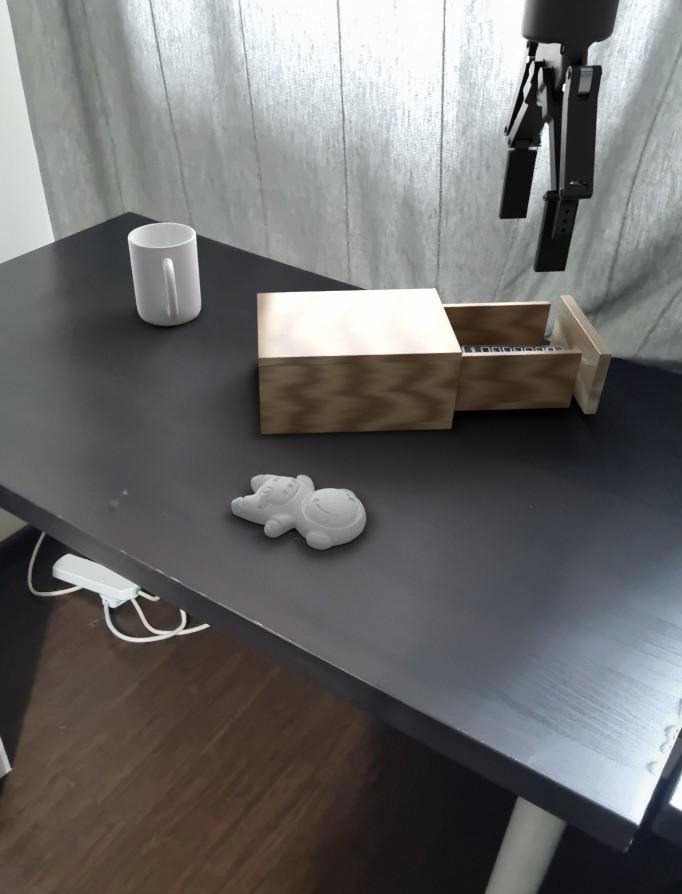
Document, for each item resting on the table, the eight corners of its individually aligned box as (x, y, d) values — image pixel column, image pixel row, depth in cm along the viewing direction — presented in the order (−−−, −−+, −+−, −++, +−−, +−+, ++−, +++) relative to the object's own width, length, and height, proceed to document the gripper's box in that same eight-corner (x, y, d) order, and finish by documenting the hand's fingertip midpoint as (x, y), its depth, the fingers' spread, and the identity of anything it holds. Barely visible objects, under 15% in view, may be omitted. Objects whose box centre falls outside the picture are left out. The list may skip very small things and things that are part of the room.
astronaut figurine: (268, 471, 81) (267, 445, 79) (380, 509, 76) (382, 482, 74) (219, 521, 75) (217, 495, 73) (337, 565, 70) (338, 538, 68)
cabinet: (427, 359, 97) (435, 288, 91) (451, 429, 86) (462, 352, 80) (259, 364, 97) (256, 292, 91) (260, 434, 86) (258, 357, 80)
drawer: (568, 351, 96) (581, 294, 92) (607, 413, 86) (624, 353, 81) (398, 355, 96) (404, 299, 91) (417, 419, 86) (424, 359, 81)
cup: (197, 295, 111) (191, 219, 105) (210, 336, 102) (204, 256, 96) (135, 302, 110) (125, 225, 103) (143, 343, 101) (132, 262, 94)
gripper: (492, -36, 76) (465, 200, 90) (574, 8, 57) (523, 298, 71) (573, -39, 76) (533, 197, 90) (682, 4, 57) (610, 295, 71)
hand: (529, 242), depth 81 cm, fingers open, 13 cm apart
